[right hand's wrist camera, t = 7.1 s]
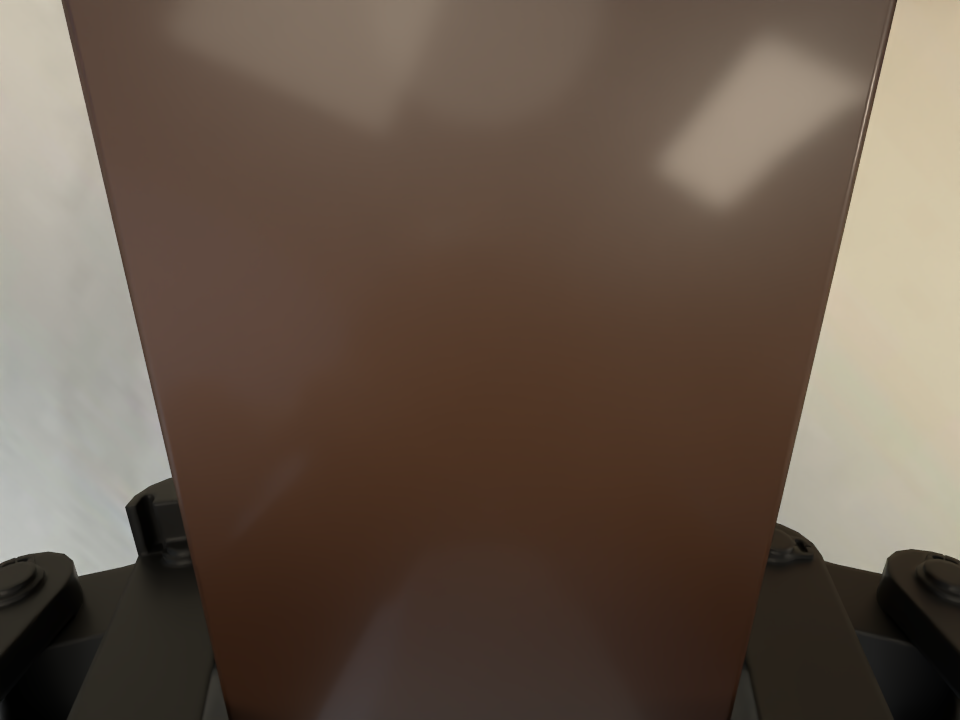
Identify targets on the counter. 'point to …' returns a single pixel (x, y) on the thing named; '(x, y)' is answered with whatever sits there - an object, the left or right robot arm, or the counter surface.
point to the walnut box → (479, 330)
